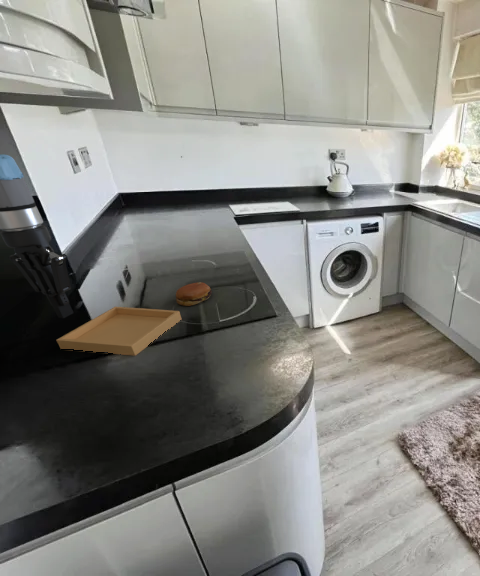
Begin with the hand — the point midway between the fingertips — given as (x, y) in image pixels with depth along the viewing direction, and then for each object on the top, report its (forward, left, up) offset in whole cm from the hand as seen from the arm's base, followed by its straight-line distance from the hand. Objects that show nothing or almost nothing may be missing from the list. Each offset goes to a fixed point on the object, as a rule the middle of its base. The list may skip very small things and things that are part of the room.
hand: (66, 315), depth 84 cm
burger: (+21, +20, -5) cm, 30 cm away
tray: (+15, 0, -4) cm, 16 cm away
